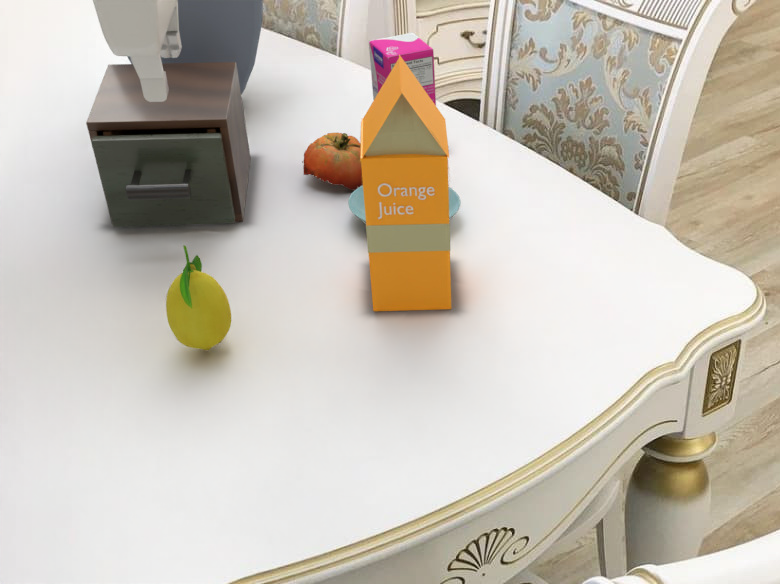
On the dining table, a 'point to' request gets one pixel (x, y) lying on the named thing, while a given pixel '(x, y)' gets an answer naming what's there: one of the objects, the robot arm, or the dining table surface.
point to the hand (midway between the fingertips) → (164, 76)
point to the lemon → (197, 307)
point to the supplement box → (411, 52)
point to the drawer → (164, 176)
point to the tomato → (335, 160)
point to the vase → (219, 33)
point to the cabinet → (180, 111)
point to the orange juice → (406, 196)
